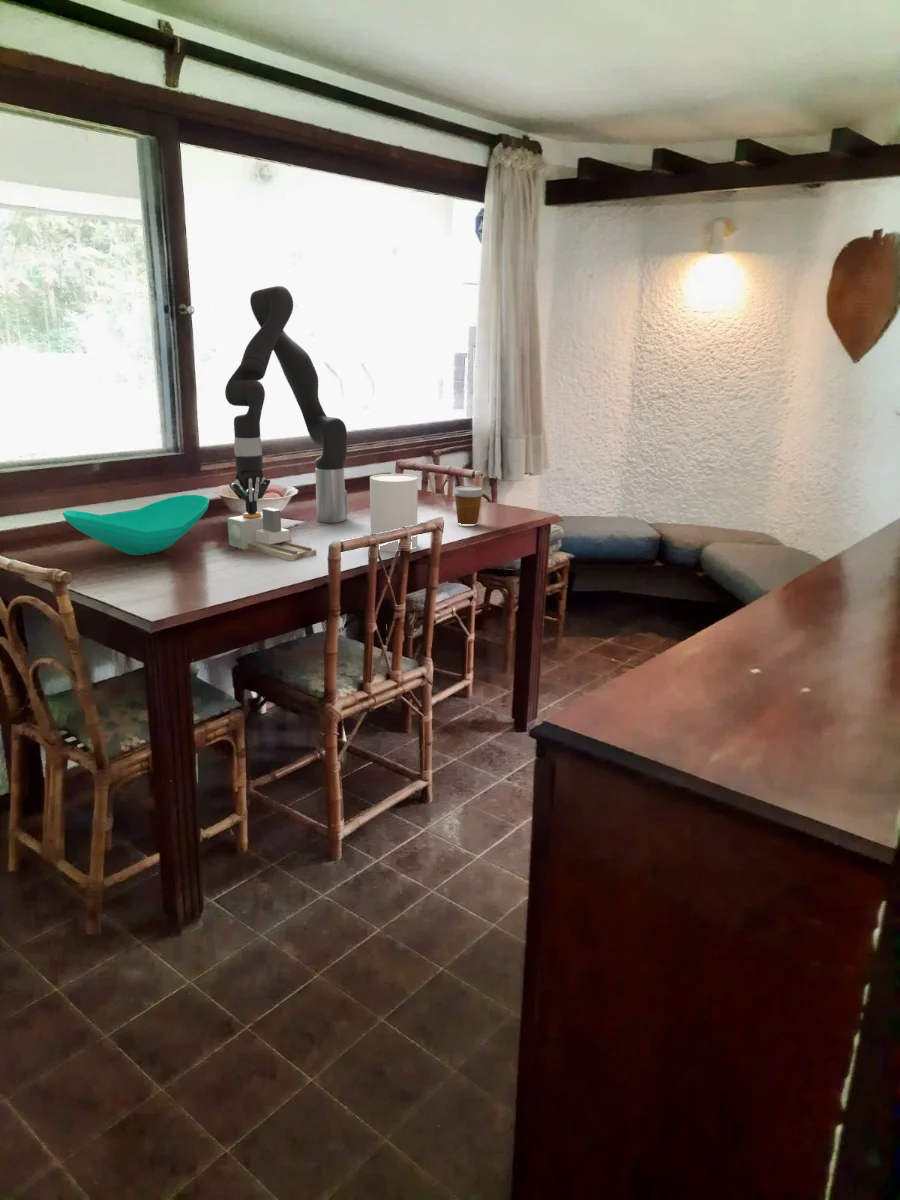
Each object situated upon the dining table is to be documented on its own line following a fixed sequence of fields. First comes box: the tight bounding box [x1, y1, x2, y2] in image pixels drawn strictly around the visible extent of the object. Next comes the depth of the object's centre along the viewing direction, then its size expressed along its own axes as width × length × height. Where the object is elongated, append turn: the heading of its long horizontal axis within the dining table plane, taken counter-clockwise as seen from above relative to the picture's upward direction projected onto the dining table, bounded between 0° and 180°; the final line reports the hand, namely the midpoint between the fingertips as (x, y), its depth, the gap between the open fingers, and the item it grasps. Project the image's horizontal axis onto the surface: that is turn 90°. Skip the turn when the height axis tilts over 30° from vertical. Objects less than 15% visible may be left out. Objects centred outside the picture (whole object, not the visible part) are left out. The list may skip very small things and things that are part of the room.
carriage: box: [256, 507, 290, 545], centre depth 234 cm, size 7×6×9 cm
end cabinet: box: [226, 511, 263, 550], centre depth 240 cm, size 12×7×8 cm, turn 139°
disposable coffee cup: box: [453, 485, 484, 524], centre depth 269 cm, size 10×10×12 cm
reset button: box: [242, 511, 261, 519], centre depth 240 cm, size 5×5×4 cm
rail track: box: [247, 539, 317, 562], centre depth 233 cm, size 9×19×2 cm, turn 49°
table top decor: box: [62, 494, 210, 556], centre depth 229 cm, size 40×28×13 cm
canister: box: [369, 473, 419, 553], centre depth 239 cm, size 14×14×20 cm
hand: (251, 513), depth 239 cm, fingers closed
